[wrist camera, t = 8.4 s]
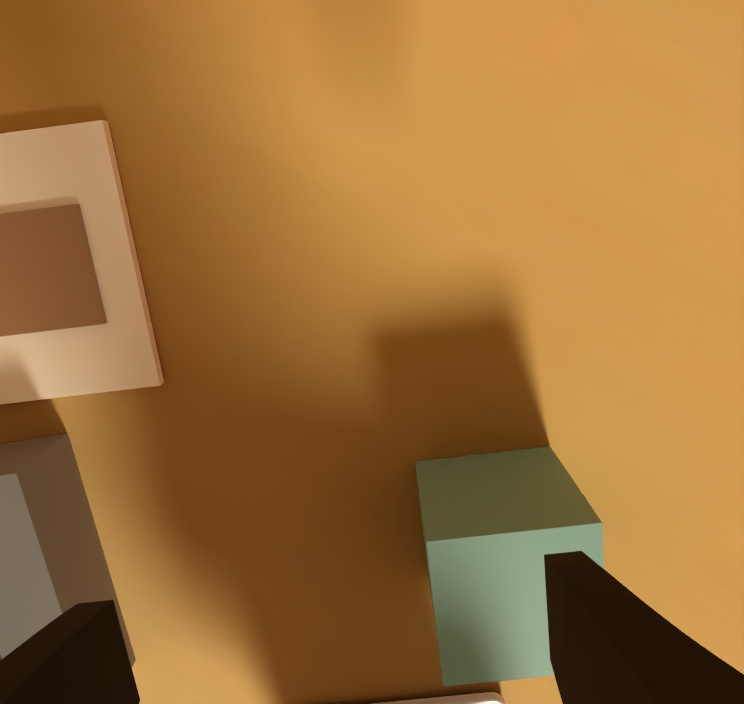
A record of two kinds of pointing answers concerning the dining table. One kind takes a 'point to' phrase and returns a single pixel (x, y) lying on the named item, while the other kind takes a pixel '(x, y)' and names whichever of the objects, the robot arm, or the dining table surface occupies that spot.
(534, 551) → the teal block
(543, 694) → the dining table surface
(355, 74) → the dining table surface
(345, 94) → the dining table surface
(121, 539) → the dining table surface
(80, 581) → the base block
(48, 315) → the card
